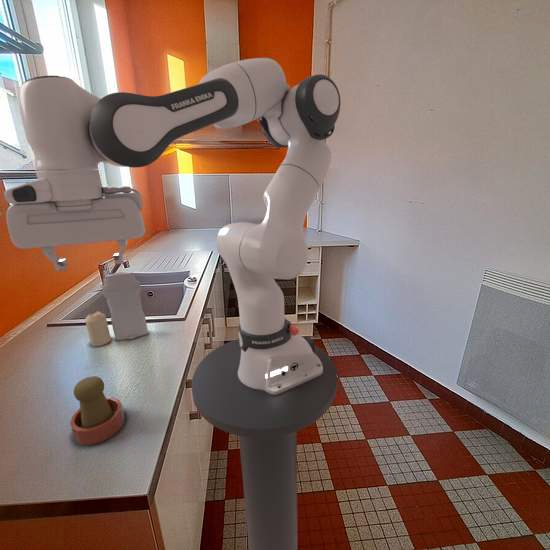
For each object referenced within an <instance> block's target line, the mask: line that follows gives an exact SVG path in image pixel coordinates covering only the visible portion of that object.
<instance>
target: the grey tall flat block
mask: <svg viewBox="0 0 550 550" xmlns="http://www.w3.org/2000/svg"><path fill="white" fill-rule="evenodd" d="M103 283H104V284H103V285H102V286H101V291H102V294H103V297H104V298H105V299H106V302H107V304H108V308H109V312H110V314H111V316H110V317H111V318H110V321H111V326H112V330H113V335H114V339H115V340H116V341H122V340H134V339H136V338H139V337H142V336H145V335H148V334H149V329H148V325H147V319H146V313H145V312H144V310H143V306H142V300H141V299H142V298H141V292H142V287H141V281H140V280H138V279H136V277H135V274H134V272H132V271H129V272H126V271H125V272H124V271H118V272H114V273H111V274H106V275H104V282H103Z"/></svg>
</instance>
